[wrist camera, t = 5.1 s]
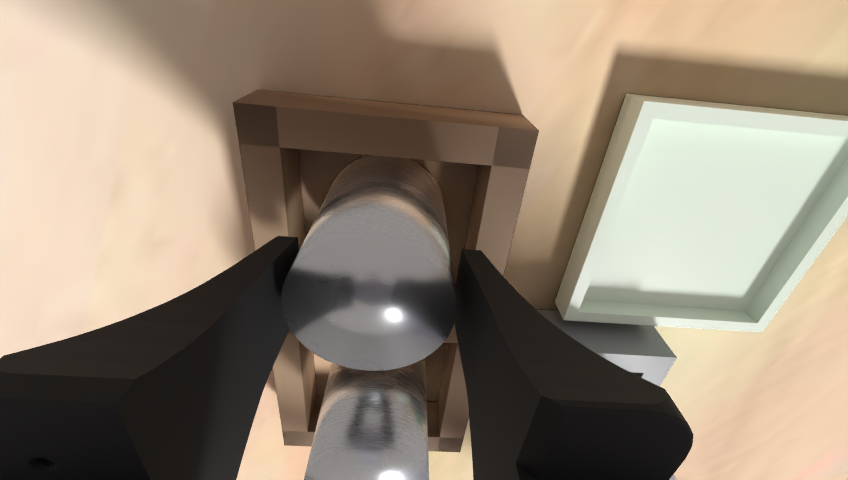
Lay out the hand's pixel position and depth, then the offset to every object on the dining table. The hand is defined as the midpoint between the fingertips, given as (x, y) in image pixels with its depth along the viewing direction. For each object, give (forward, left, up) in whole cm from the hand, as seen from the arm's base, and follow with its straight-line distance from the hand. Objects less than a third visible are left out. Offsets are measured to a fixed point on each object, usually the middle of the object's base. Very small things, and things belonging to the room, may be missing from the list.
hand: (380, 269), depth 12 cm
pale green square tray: (+1, -12, -3) cm, 13 cm away
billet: (0, 0, -4) cm, 4 cm away
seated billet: (-8, 0, -3) cm, 8 cm away
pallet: (-4, 0, -3) cm, 5 cm away
